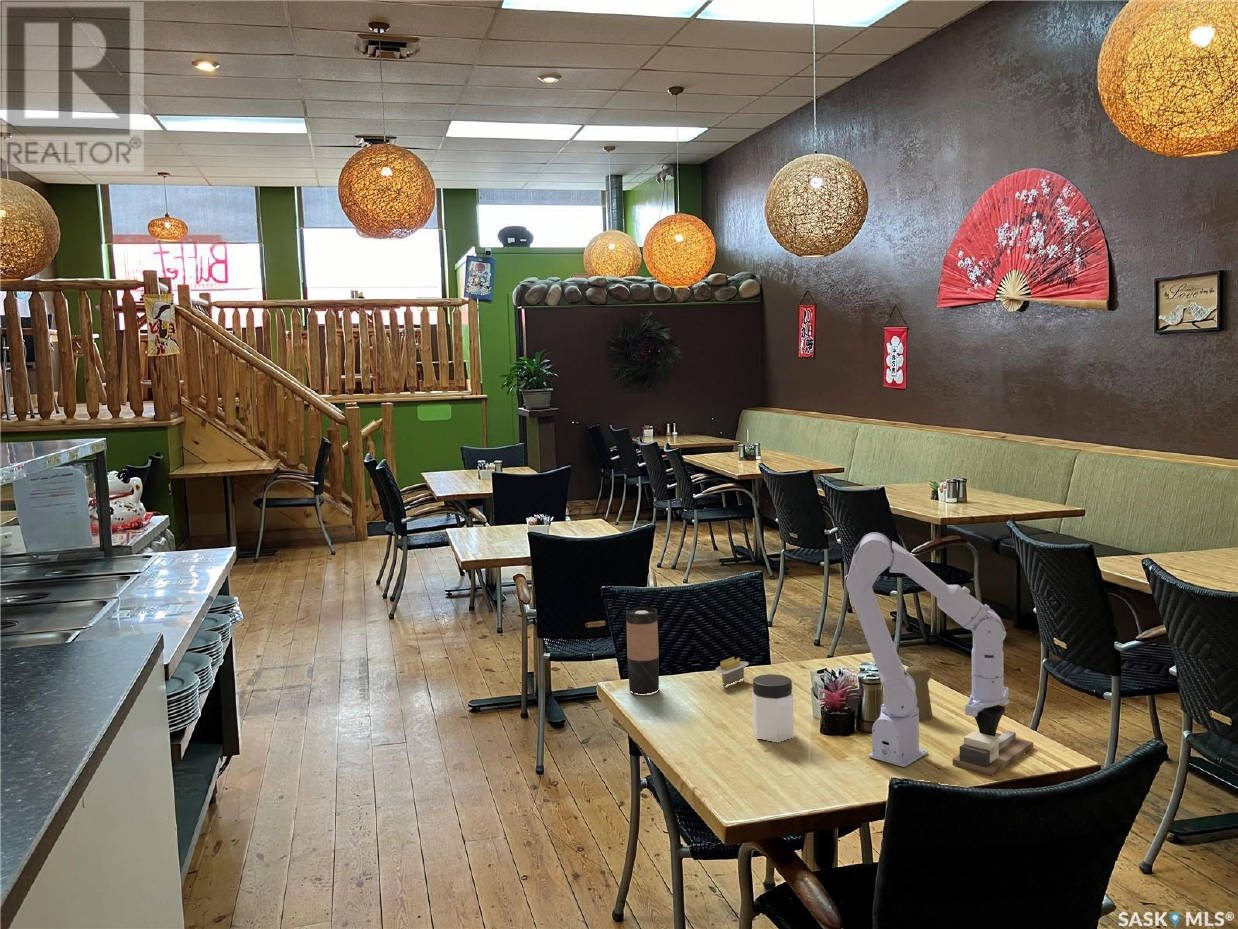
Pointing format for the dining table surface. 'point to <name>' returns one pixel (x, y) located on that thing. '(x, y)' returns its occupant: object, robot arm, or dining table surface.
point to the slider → (984, 743)
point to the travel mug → (643, 650)
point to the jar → (773, 708)
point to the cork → (921, 690)
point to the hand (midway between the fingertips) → (987, 742)
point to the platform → (731, 670)
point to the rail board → (1001, 759)
